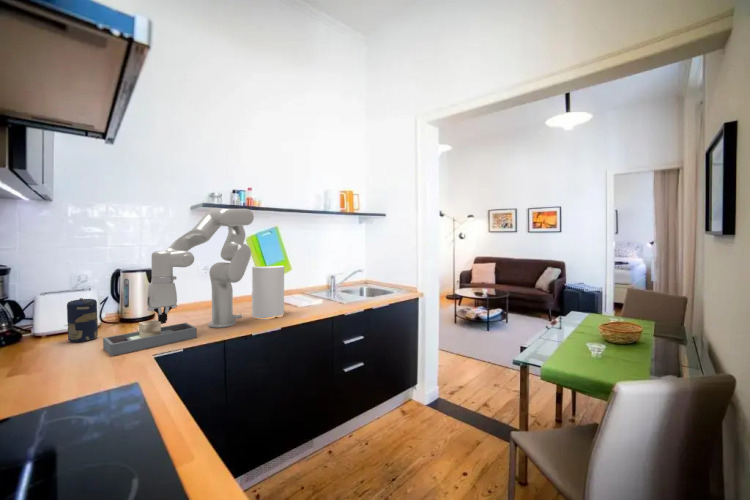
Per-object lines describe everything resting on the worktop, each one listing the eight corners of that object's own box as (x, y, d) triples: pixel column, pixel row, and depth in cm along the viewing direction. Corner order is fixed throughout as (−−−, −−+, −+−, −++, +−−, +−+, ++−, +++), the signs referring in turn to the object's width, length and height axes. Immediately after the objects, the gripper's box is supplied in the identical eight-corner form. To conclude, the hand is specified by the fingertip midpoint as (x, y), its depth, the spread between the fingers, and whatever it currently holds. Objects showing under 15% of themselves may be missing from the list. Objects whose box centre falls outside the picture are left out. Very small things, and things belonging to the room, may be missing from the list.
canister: (97, 334, 145) (96, 295, 144) (99, 340, 138) (98, 298, 137) (67, 339, 138) (66, 297, 137) (68, 345, 131) (66, 301, 131)
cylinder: (288, 316, 182) (288, 267, 180) (256, 321, 172) (256, 268, 171) (278, 310, 196) (278, 264, 195) (248, 314, 186) (248, 265, 185)
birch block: (156, 333, 139) (155, 319, 139) (161, 336, 135) (160, 322, 135) (139, 336, 134) (139, 322, 134) (143, 339, 130) (143, 325, 130)
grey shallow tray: (186, 332, 151) (185, 322, 151) (196, 337, 143) (196, 327, 143) (103, 349, 128) (103, 337, 128) (110, 356, 120) (110, 344, 120)
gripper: (178, 277, 145) (178, 318, 146) (138, 280, 134) (139, 324, 135) (185, 279, 141) (185, 321, 141) (144, 282, 129) (144, 328, 130)
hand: (162, 322), depth 138 cm, fingers closed
